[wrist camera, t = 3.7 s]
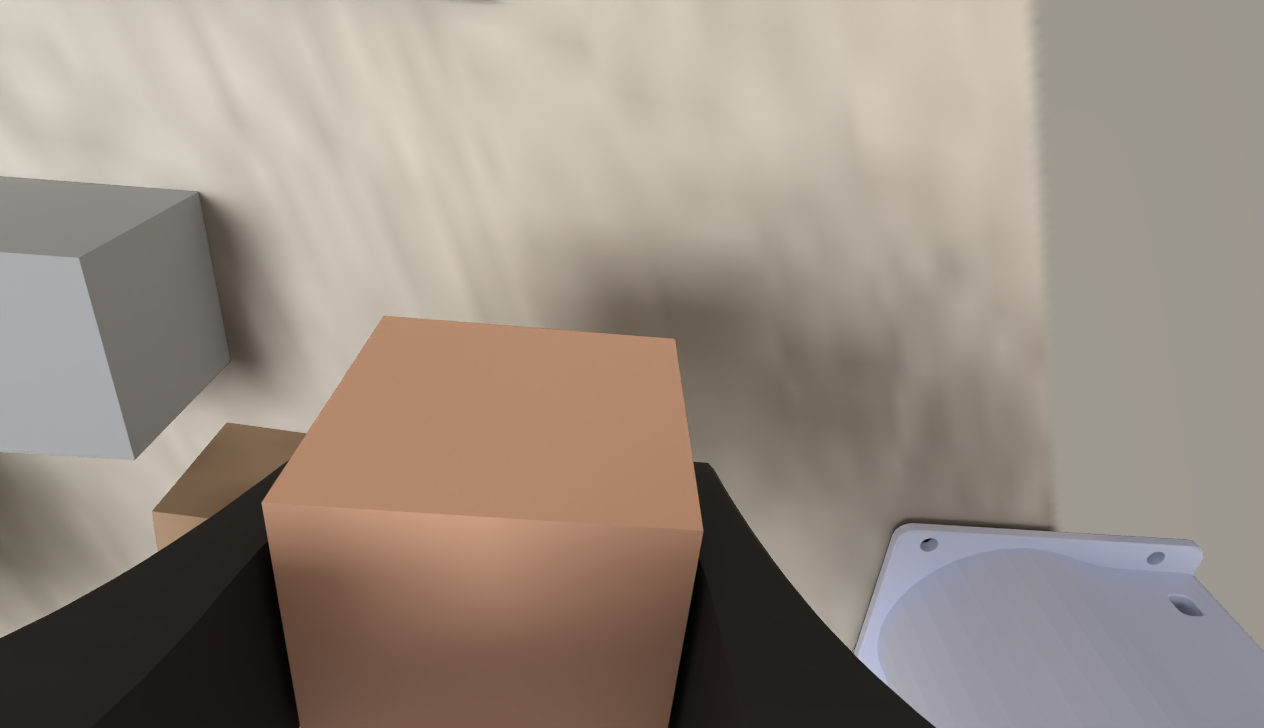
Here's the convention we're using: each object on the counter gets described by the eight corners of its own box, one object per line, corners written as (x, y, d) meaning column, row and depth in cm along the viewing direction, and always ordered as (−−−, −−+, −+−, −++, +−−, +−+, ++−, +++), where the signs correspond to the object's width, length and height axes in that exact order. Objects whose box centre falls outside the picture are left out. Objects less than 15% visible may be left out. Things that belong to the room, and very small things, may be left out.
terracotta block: (675, 338, 12) (703, 530, 8) (645, 555, 14) (656, 793, 10) (384, 315, 12) (261, 502, 8) (398, 540, 14) (309, 778, 10)
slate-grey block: (199, 190, 18) (78, 257, 14) (231, 359, 20) (134, 459, 16) (0, 175, 17) (-182, 238, 13) (54, 347, 20) (-90, 446, 16)
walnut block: (484, 453, 22) (458, 549, 18) (465, 626, 25) (440, 736, 21) (230, 417, 21) (152, 511, 17) (245, 600, 24) (181, 710, 21)
